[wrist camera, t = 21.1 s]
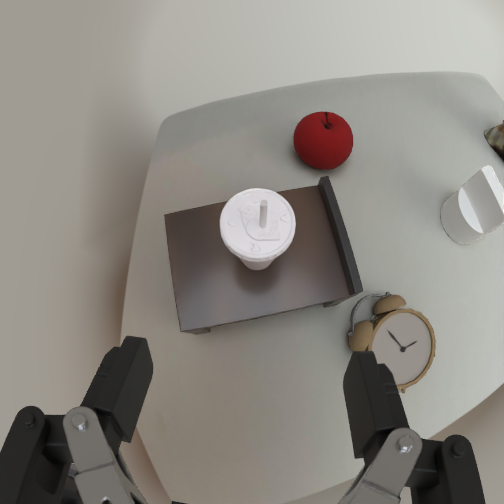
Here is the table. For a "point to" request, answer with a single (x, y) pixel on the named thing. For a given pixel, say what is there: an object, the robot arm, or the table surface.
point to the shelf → (266, 280)
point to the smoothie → (257, 226)
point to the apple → (323, 140)
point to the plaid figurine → (496, 139)
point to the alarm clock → (395, 339)
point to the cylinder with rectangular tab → (474, 208)
